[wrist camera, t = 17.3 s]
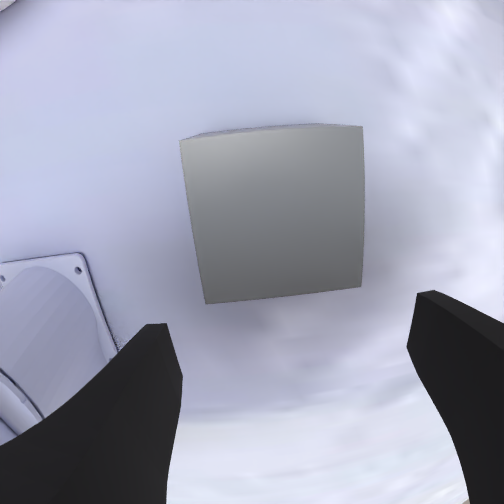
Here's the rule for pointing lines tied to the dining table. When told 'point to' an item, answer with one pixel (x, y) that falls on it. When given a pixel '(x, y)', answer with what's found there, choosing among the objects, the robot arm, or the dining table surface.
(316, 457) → the dining table surface
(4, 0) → the cup
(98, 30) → the dining table surface
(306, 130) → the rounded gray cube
